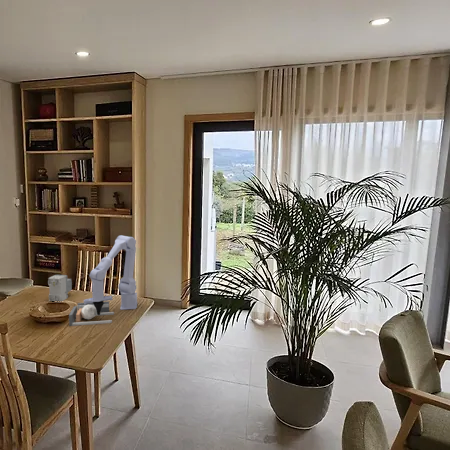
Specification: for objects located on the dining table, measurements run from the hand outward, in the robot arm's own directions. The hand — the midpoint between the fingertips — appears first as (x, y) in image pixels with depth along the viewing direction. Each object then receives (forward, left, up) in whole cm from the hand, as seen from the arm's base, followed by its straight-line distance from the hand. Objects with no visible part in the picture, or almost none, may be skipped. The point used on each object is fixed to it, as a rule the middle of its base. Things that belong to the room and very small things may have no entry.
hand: (98, 314), depth 175 cm
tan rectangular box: (+10, 0, -3) cm, 10 cm away
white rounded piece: (+5, -2, -3) cm, 6 cm away
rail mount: (+3, -2, -3) cm, 5 cm away
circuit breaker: (+28, -37, -3) cm, 46 cm away
